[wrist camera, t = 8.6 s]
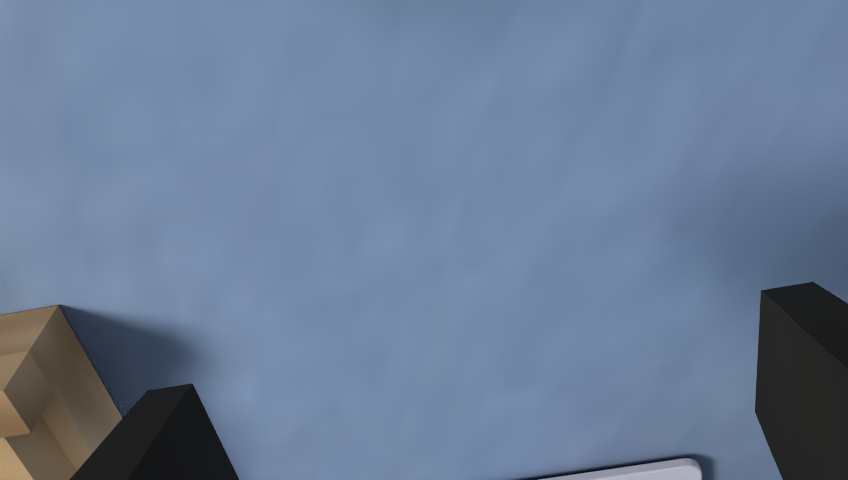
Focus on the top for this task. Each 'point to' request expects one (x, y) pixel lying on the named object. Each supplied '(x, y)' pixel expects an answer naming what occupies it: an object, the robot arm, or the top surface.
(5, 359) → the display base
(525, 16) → the top surface
